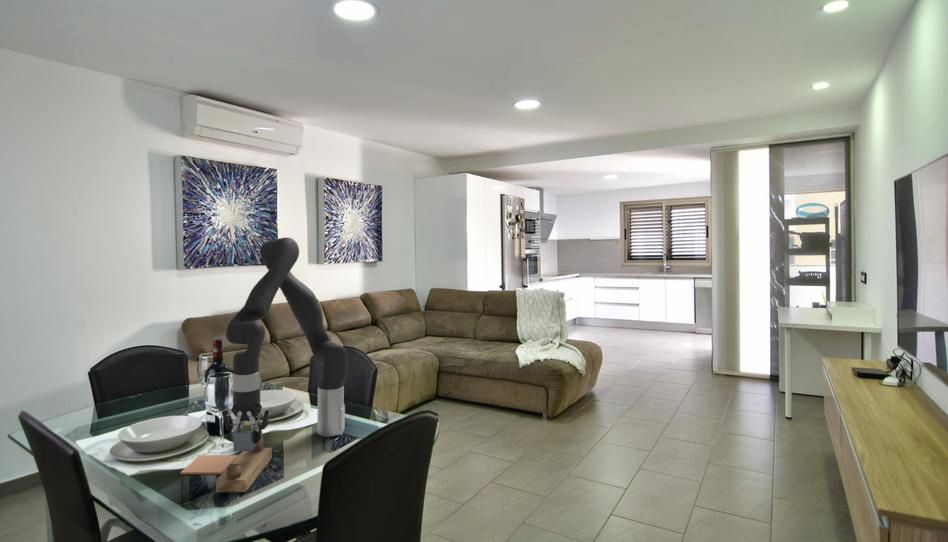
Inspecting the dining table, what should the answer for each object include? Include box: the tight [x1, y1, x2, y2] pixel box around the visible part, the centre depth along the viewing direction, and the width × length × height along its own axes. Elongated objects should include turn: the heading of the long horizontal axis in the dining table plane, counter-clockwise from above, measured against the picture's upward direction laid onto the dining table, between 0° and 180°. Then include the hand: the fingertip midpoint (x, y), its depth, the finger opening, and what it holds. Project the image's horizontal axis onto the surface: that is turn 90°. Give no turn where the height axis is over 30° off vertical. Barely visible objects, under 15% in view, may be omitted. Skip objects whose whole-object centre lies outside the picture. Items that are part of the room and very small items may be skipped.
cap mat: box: [180, 454, 239, 475], centre depth 157 cm, size 12×12×1 cm
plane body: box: [215, 438, 273, 493], centre depth 151 cm, size 8×22×6 cm, turn 4°
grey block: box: [232, 421, 259, 452], centre depth 151 cm, size 5×8×6 cm, turn 4°
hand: (247, 442), depth 151 cm, fingers closed on grey block, 5 cm apart
